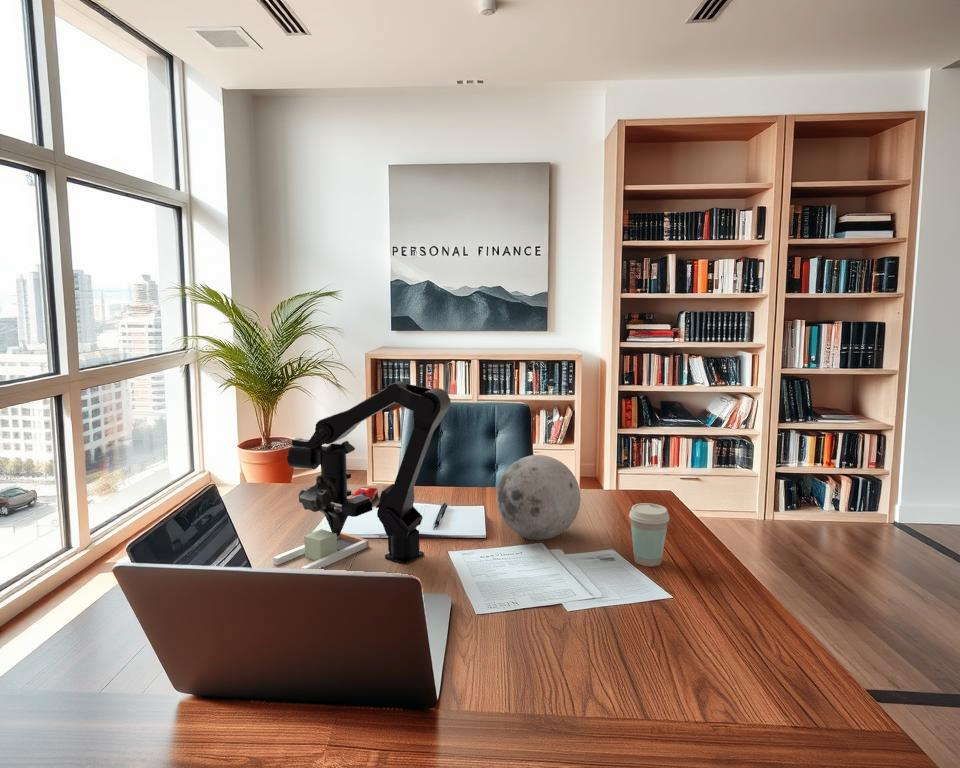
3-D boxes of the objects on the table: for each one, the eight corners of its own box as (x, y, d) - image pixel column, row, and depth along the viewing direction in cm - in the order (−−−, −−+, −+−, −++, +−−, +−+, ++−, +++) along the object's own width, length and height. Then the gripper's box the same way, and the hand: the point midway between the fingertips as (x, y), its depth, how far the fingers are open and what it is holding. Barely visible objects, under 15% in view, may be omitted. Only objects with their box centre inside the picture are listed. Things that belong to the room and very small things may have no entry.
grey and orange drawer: (368, 546, 150) (368, 540, 150) (350, 554, 145) (350, 548, 145) (337, 537, 156) (337, 531, 155) (319, 544, 151) (319, 538, 151)
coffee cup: (669, 570, 136) (671, 516, 134) (628, 567, 138) (629, 513, 136) (666, 554, 144) (668, 503, 142) (627, 552, 146) (628, 501, 144)
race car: (362, 512, 174) (362, 498, 174) (344, 510, 176) (343, 496, 175) (381, 497, 187) (381, 483, 186) (364, 495, 188) (363, 482, 188)
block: (337, 554, 145) (336, 533, 145) (320, 562, 141) (319, 540, 141) (322, 549, 148) (321, 529, 147) (305, 557, 144) (304, 536, 143)
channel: (366, 547, 149) (366, 541, 149) (305, 575, 134) (305, 568, 134) (335, 538, 155) (335, 532, 155) (273, 564, 140) (273, 557, 140)
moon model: (577, 523, 164) (578, 447, 161) (582, 554, 144) (583, 468, 142) (499, 521, 166) (499, 445, 163) (493, 551, 146) (493, 466, 144)
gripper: (278, 472, 145) (281, 538, 147) (335, 486, 134) (338, 557, 136) (316, 461, 154) (319, 524, 156) (373, 473, 143) (375, 540, 145)
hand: (336, 536), depth 148 cm, fingers closed
